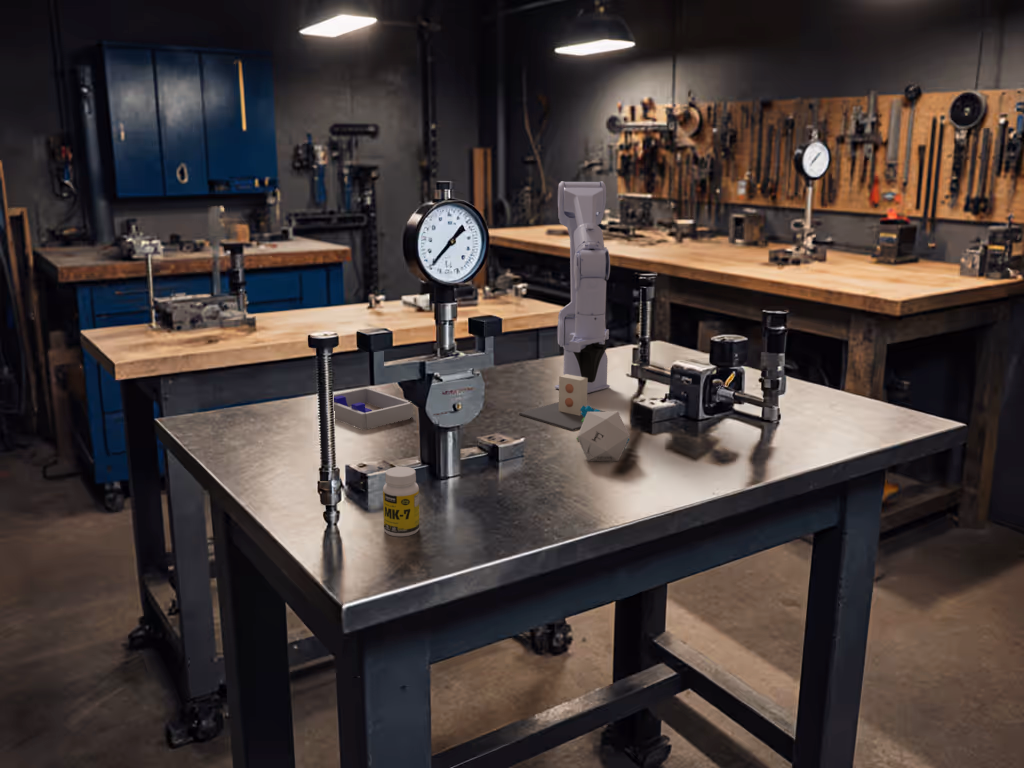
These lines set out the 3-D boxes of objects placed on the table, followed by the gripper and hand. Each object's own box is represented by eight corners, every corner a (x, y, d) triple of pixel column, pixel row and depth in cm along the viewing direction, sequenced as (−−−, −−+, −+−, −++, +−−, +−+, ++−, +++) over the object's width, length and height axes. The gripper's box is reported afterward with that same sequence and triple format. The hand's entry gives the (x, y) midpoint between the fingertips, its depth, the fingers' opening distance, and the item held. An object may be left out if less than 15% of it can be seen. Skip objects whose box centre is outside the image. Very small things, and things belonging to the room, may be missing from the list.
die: (566, 457, 148) (569, 424, 141) (593, 424, 153) (598, 390, 145) (607, 482, 146) (613, 449, 138) (634, 447, 150) (641, 414, 142)
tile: (565, 408, 173) (566, 373, 172) (586, 412, 170) (587, 377, 169) (558, 411, 171) (558, 376, 170) (579, 415, 168) (580, 380, 167)
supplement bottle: (379, 536, 116) (377, 476, 114) (389, 521, 121) (387, 464, 119) (414, 538, 115) (413, 478, 113) (423, 524, 120) (422, 466, 118)
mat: (565, 402, 179) (565, 400, 179) (618, 416, 169) (618, 414, 169) (519, 414, 170) (519, 412, 170) (572, 430, 161) (572, 428, 160)
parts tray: (367, 401, 179) (367, 387, 178) (414, 417, 168) (413, 402, 167) (318, 412, 171) (317, 397, 171) (363, 430, 160) (362, 414, 160)
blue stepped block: (372, 422, 166) (371, 402, 165) (357, 426, 163) (356, 405, 162) (349, 413, 171) (348, 393, 170) (333, 417, 169) (332, 397, 168)
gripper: (586, 305, 177) (585, 371, 180) (555, 316, 164) (553, 386, 168) (619, 308, 173) (617, 375, 177) (589, 320, 161) (587, 391, 164)
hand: (588, 381), depth 172 cm, fingers closed
